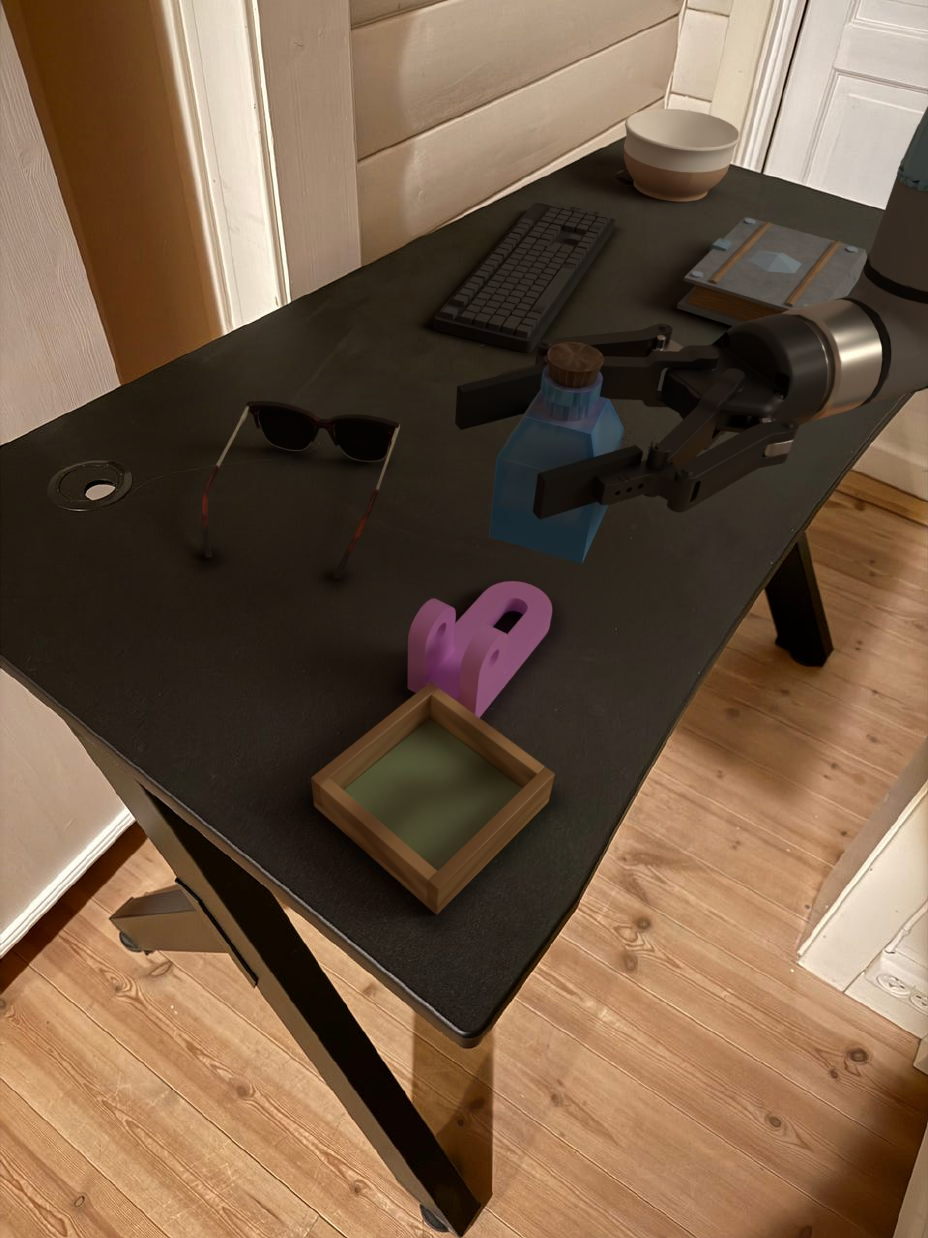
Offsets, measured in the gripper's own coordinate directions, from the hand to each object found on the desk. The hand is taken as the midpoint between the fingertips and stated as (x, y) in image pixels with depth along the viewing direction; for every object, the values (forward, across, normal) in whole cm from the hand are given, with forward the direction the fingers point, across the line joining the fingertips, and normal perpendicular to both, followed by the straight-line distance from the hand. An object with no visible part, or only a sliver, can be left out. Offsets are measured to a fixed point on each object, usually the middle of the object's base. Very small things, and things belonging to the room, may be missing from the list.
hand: (496, 450), depth 53 cm
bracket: (-1, +1, -19) cm, 19 cm away
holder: (+8, -9, -19) cm, 23 cm away
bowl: (-69, +68, -19) cm, 99 cm away
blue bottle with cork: (-5, 0, -7) cm, 9 cm away
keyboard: (-36, +52, -19) cm, 66 cm away
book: (-60, +36, -19) cm, 72 cm away
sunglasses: (+5, +22, -19) cm, 29 cm away
